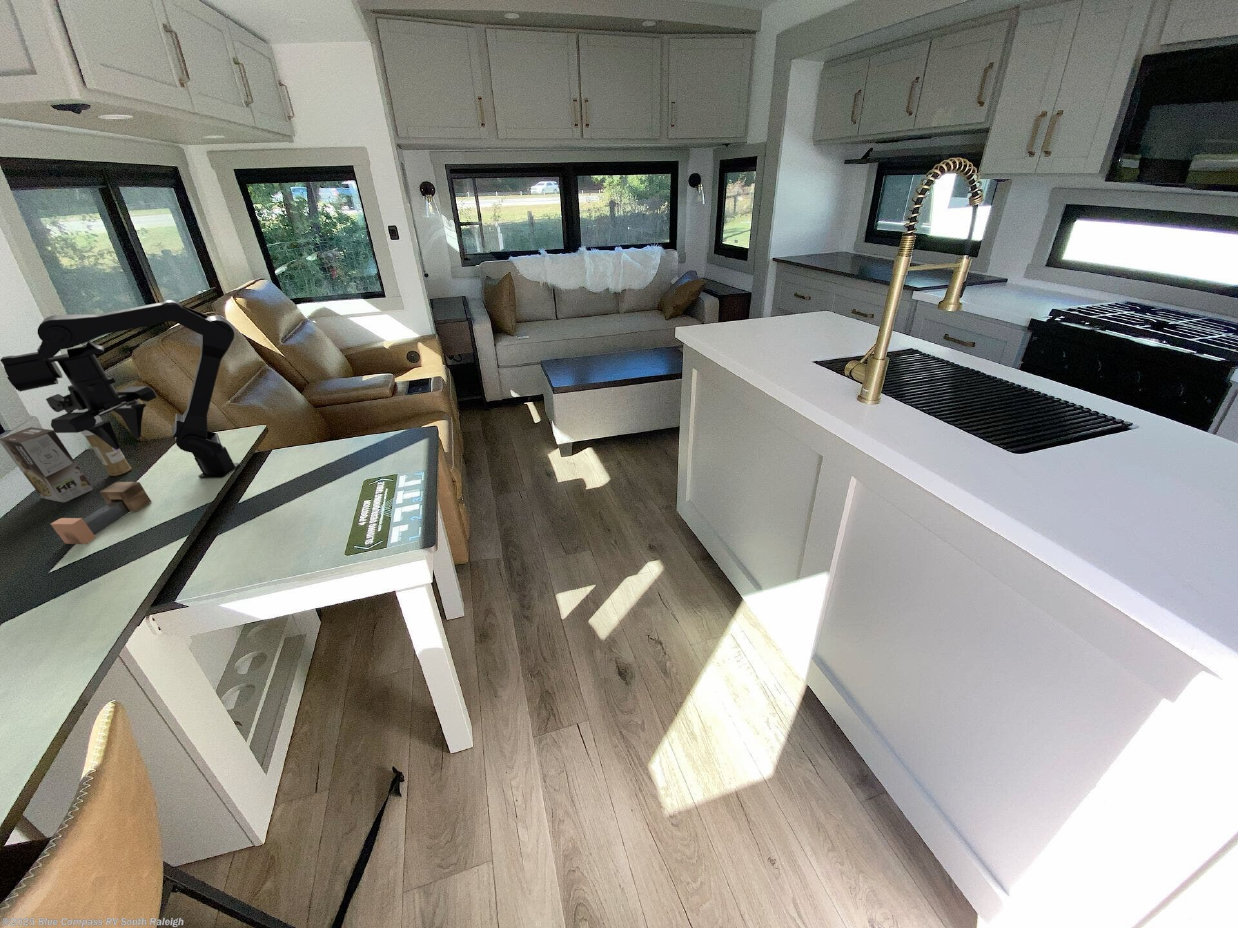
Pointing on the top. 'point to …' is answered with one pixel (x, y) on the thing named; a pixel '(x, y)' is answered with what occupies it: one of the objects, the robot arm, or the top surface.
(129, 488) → the block
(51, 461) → the coffee box
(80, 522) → the pink notched end block
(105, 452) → the sprinkles bottle
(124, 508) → the rail
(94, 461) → the top surface
